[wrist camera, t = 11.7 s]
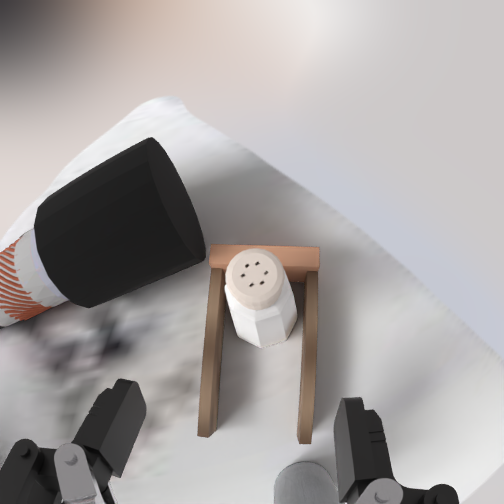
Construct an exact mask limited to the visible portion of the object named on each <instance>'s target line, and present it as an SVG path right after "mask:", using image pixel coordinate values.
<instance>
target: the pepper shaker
mask: <svg viewBox="0 0 504 504" xmlns="http://www.w3.org/2000/svg"><path fill="white" fill-rule="evenodd" d="M225 275H226V285H225V293H226V297H227V301H228V305H229V309H230V313H231V316H232V319H233V323H234V326H235V329H236V332H237V336H238V337H239V338H241V339H243V340H245V341H247V342H249V343H251V344H253V345H255V346H257V347H259V348H261V349H262V348H265V347H268V346H271V345H274V344H277V343H280V342H283V341H286V340H287V338H288V336H289V334H290V332H291V330H292V328H293V326H294V324H295V322H296V320H297V318H298V314H297V310H296V305H295V300H294V296H293V293H292V290H291V286H290V284H289V281H288V278H287V275H286V273H285V270H284V268H283V265H282V263H281V262H280V260H279V259H278V257H277V256H275V255H274V254H273V253H272V252H269V251H267V250H265V249H259V248H252V249H247V250H244V251H242V252H240V253H239V254H237V255H236V256H235V257H234V258H233V259H232V260H231V261H230V263H229V265H228V266H227V270H226V274H225Z"/></svg>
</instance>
